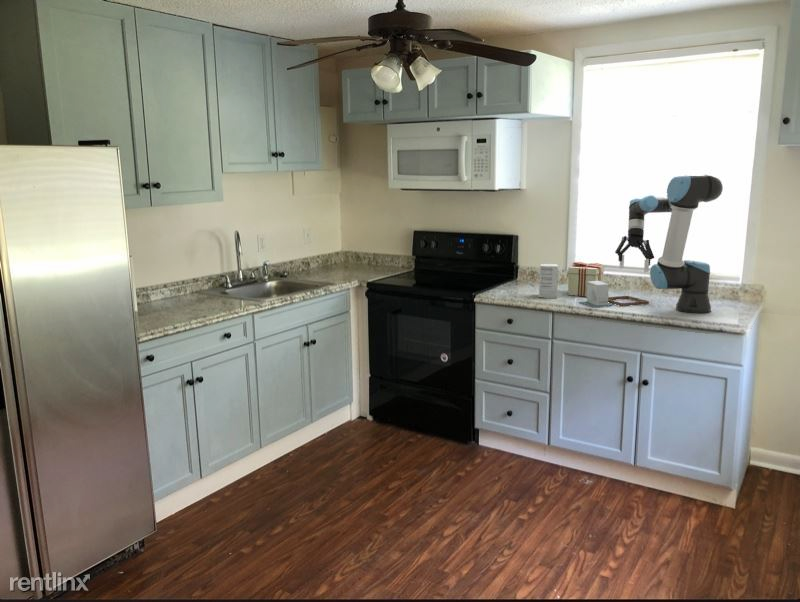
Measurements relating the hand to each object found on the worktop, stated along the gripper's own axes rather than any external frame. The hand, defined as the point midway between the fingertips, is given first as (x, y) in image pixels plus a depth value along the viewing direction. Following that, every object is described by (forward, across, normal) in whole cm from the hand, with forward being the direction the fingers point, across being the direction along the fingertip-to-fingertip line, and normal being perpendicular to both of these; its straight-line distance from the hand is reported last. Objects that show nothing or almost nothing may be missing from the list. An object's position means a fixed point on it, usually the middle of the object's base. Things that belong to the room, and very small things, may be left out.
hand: (633, 269), depth 337 cm
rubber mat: (+20, +18, -2) cm, 27 cm away
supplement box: (+14, +34, -26) cm, 45 cm away
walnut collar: (+16, +2, -3) cm, 17 cm away
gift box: (+10, +12, -28) cm, 32 cm away
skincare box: (+20, +18, -2) cm, 27 cm away
